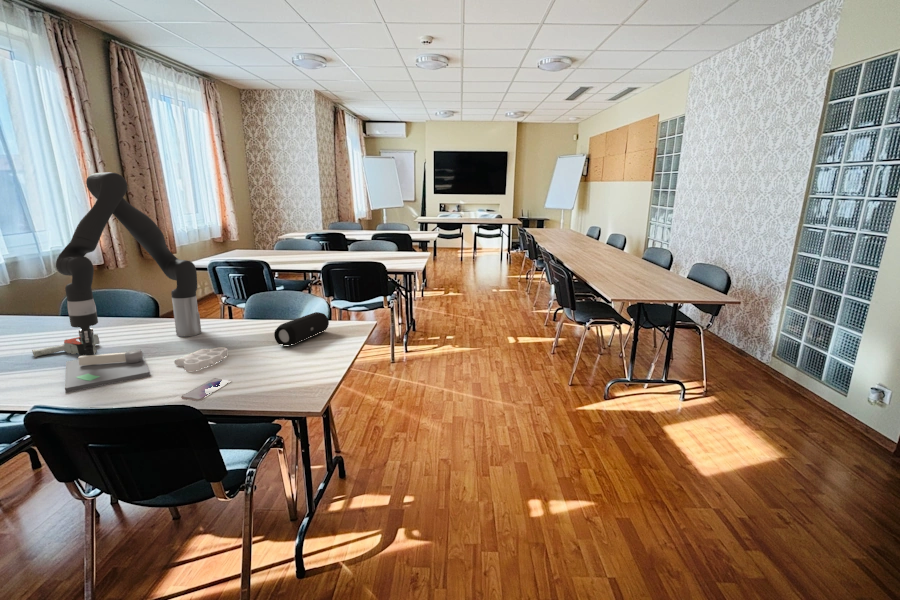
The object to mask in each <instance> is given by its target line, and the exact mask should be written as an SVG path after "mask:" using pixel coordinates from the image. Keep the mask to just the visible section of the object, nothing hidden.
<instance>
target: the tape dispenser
mask: <svg viewBox="0 0 900 600" xmlns="http://www.w3.org/2000/svg"><path fill="white" fill-rule="evenodd" d="M93 338H94V342H93V346H94V348H93V351H94V353H95V354H96V352H97V349H96V348H97V347H96V345H100V344H101V343H100V337H99V335H98V334H97V333H95V334H94V335H93ZM83 347H84V345H83V344H82V343H81V337H79V336H78V337H72V338H68V339H67V338H66V339H64V341H63V344H61V345H55V346H49V347H43V348H38V349H32V355H33V357H34V358H37V357H40V356H45V355H50V354H55V353H59V352H66V353H67V354H70V353H71V354H70V355H77V354H76V353H78V354H79V356H86V352H85V350H84V348H83Z"/></svg>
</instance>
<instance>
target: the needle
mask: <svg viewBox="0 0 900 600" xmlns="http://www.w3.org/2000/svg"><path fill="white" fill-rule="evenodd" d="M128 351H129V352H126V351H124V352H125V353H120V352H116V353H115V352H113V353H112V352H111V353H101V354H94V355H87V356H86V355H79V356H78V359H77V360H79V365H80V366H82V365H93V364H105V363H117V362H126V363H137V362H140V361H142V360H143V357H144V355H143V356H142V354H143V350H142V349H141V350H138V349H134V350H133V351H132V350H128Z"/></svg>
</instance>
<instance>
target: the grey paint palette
mask: <svg viewBox="0 0 900 600" xmlns="http://www.w3.org/2000/svg"><path fill="white" fill-rule="evenodd" d="M228 351H229V350H228V348H227V347H224V346H223V347H222V346H221V347H220V346H219V347H214V348H199V349H198V350H196V351H194V352H191V353H187V354H186V355H184V356H181V357H179V358H177V359H175V360H174V361H173V362H174V364H175V366H177V365H178V366H177V367H184V371H185V370H186V371H185V372H187V371H194V372H197V371H196V370H199V371H201V370H202V369H201V368H203V369H205V368H204V367H207V366H211V365H214V364H215V363H216V362H219V361H221V360H223V361H224V360H226V358H227V357H226V358H224V357H225V356H227V355H228V356H229V352H228ZM215 365H216V364H215ZM215 365H214V366H215ZM211 367H212V366H211ZM207 368H208V367H207ZM200 369H201V370H200Z"/></svg>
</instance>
